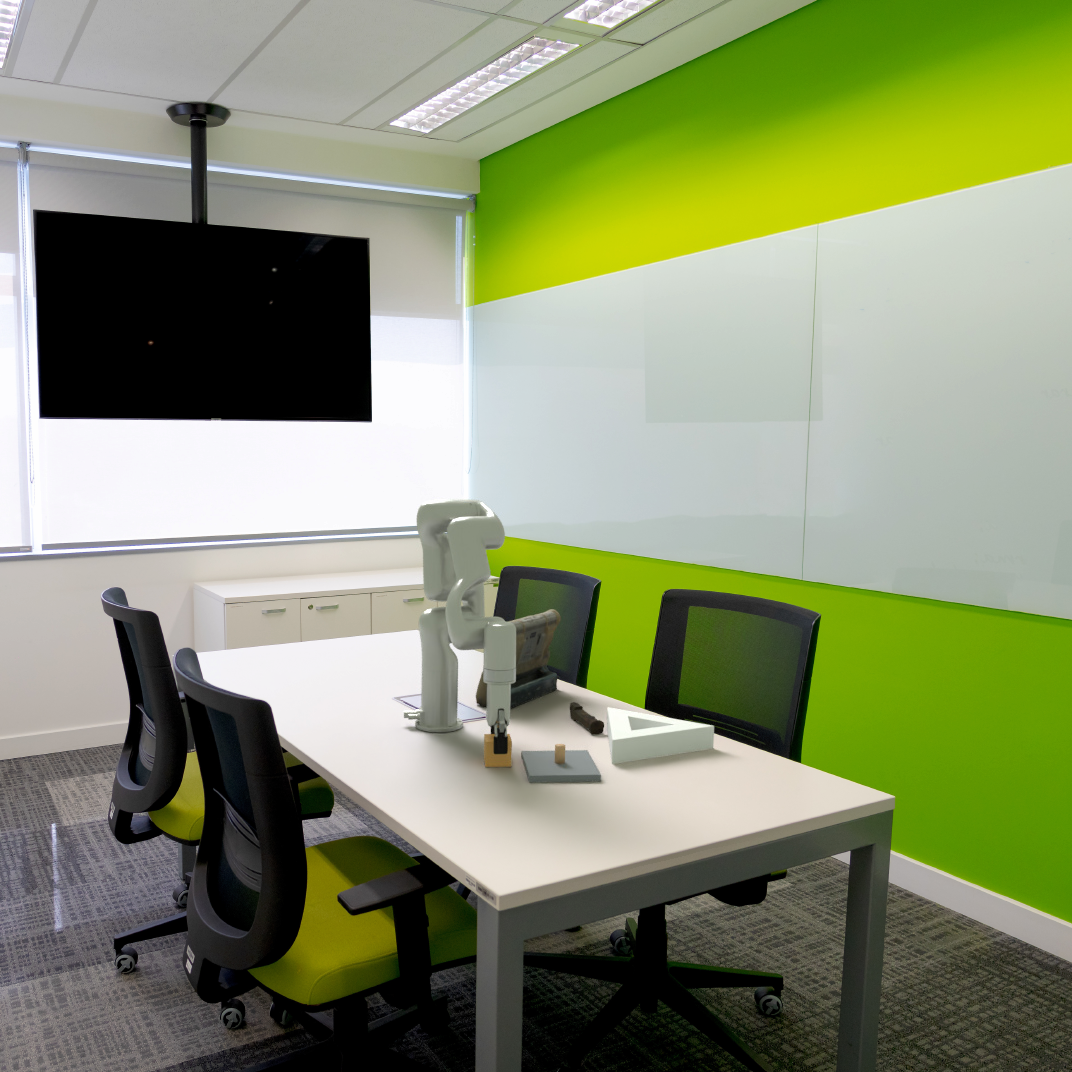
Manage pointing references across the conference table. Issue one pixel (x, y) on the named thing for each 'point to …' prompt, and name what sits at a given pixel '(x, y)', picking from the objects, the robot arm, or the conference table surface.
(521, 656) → the tablet
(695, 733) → the triangle block
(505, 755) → the orange cube
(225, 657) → the conference table surface
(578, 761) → the peg board
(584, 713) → the brown piece
